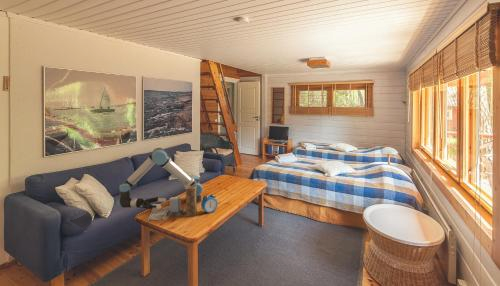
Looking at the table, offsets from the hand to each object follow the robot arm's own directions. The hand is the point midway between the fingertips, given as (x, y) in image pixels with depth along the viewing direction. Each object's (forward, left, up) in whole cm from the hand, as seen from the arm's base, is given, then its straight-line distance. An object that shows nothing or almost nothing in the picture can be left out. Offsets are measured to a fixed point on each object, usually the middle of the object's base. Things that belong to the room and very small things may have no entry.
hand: (163, 202), depth 216 cm
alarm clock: (-26, +28, -10) cm, 39 cm away
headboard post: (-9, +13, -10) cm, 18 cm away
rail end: (-6, +8, -10) cm, 14 cm away
